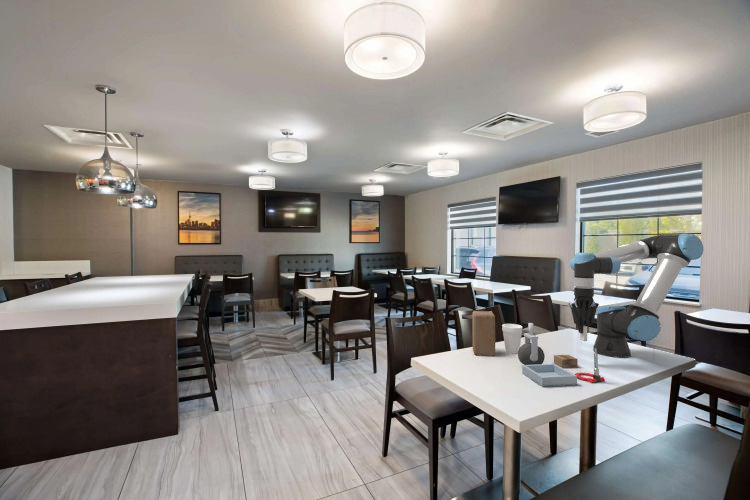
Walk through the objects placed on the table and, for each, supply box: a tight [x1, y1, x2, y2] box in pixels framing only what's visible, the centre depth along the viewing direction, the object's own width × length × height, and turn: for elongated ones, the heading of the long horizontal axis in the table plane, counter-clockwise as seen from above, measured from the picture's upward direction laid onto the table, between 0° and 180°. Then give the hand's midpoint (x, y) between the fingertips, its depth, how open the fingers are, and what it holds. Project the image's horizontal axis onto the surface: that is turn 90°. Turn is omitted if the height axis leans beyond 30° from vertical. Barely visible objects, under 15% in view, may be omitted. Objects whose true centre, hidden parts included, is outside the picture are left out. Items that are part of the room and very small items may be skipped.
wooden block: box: [471, 310, 496, 357], centre depth 170 cm, size 10×10×20 cm
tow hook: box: [574, 348, 606, 384], centre depth 137 cm, size 8×13×9 cm
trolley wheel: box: [517, 322, 546, 365], centre depth 150 cm, size 10×6×19 cm, turn 96°
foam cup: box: [501, 323, 523, 355], centre depth 172 cm, size 10×9×13 cm
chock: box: [553, 354, 579, 369], centre depth 152 cm, size 7×6×4 cm
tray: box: [521, 363, 578, 388], centre depth 136 cm, size 14×14×4 cm
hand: (583, 340), depth 152 cm, fingers closed
